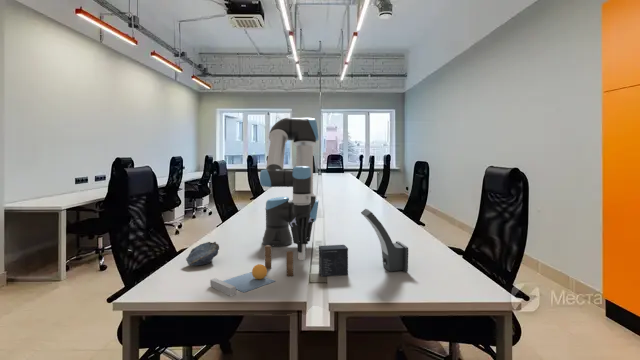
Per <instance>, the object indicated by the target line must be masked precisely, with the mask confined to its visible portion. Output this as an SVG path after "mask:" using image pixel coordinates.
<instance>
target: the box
mask: <svg viewBox="0 0 640 360" xmlns="http://www.w3.org/2000/svg"><path fill="white" fill-rule="evenodd" d="M318 272H319V274H320V277H336V276H337V277H338V276H348V275H349V248H348V247H347V246H346V245H345V244H328V245H319V246H318Z"/></svg>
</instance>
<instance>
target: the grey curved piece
mask: <svg viewBox="0 0 640 360" xmlns="http://www.w3.org/2000/svg"><path fill="white" fill-rule="evenodd" d="M360 213H361V215H362V216H363V217H364V218H365V219H366V220H367V222H368V223H369V224H370V226H371V227H372V228H373V229H374V232H375V233H376V235H377V238H378V240H379V244H380V247H381V257H382V266H383V267H384V268H385V269H386V270H387V272H391V273H392V272H398V271H399V272H400V271H403V272H404V273H408V271H409V247H408V246H407V245H405V244H404V243H402V242H401V241H395V242H393V240H392V239H391V237H390V235H389V234H388V231H387V230H386V228H385V227H384V225H383V224H382V223H381V221H380V220H379V219H378V218H377V217H376V216H375V214H374V213H373V212H372V210H369V209H368V208H364V209H363V210H362V211H361V212H360Z"/></svg>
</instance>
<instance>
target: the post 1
mask: <svg viewBox="0 0 640 360" xmlns="http://www.w3.org/2000/svg"><path fill="white" fill-rule="evenodd" d="M264 266H265V267H266V269H267V270H271V269H272V246H270V245H265V246H264Z"/></svg>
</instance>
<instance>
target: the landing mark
mask: <svg viewBox="0 0 640 360" xmlns="http://www.w3.org/2000/svg"><path fill="white" fill-rule="evenodd" d="M222 281H223V282H226V283H228V284H230V285H233V286H235V287H236V291H239V292H242V293H247V292H249V291H252V290H255V289H257V288H260V287H263V286H266V285H269V284H272V283H274V282H276V280H274V279H271V278H269V277H267V276H265V277H264V278H263V279H260V280H258V279H255V278H254V277H253V275H252V271H251V272H247V273H244V274H240V275H237V276H235V277H230V278H228V279H225V280H222Z"/></svg>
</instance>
